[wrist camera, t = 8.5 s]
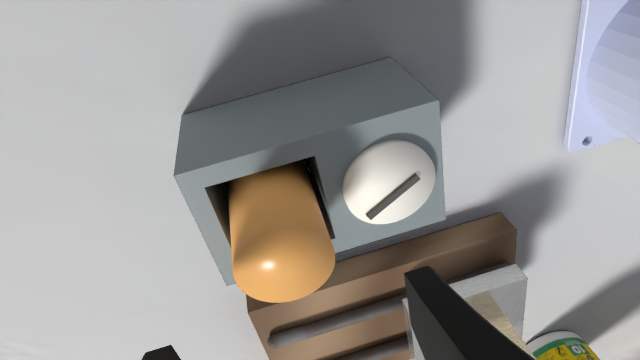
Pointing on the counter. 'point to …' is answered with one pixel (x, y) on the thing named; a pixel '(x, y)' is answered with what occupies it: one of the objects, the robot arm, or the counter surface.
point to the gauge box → (322, 154)
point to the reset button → (278, 235)
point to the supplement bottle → (561, 347)
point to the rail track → (377, 295)
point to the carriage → (488, 304)
